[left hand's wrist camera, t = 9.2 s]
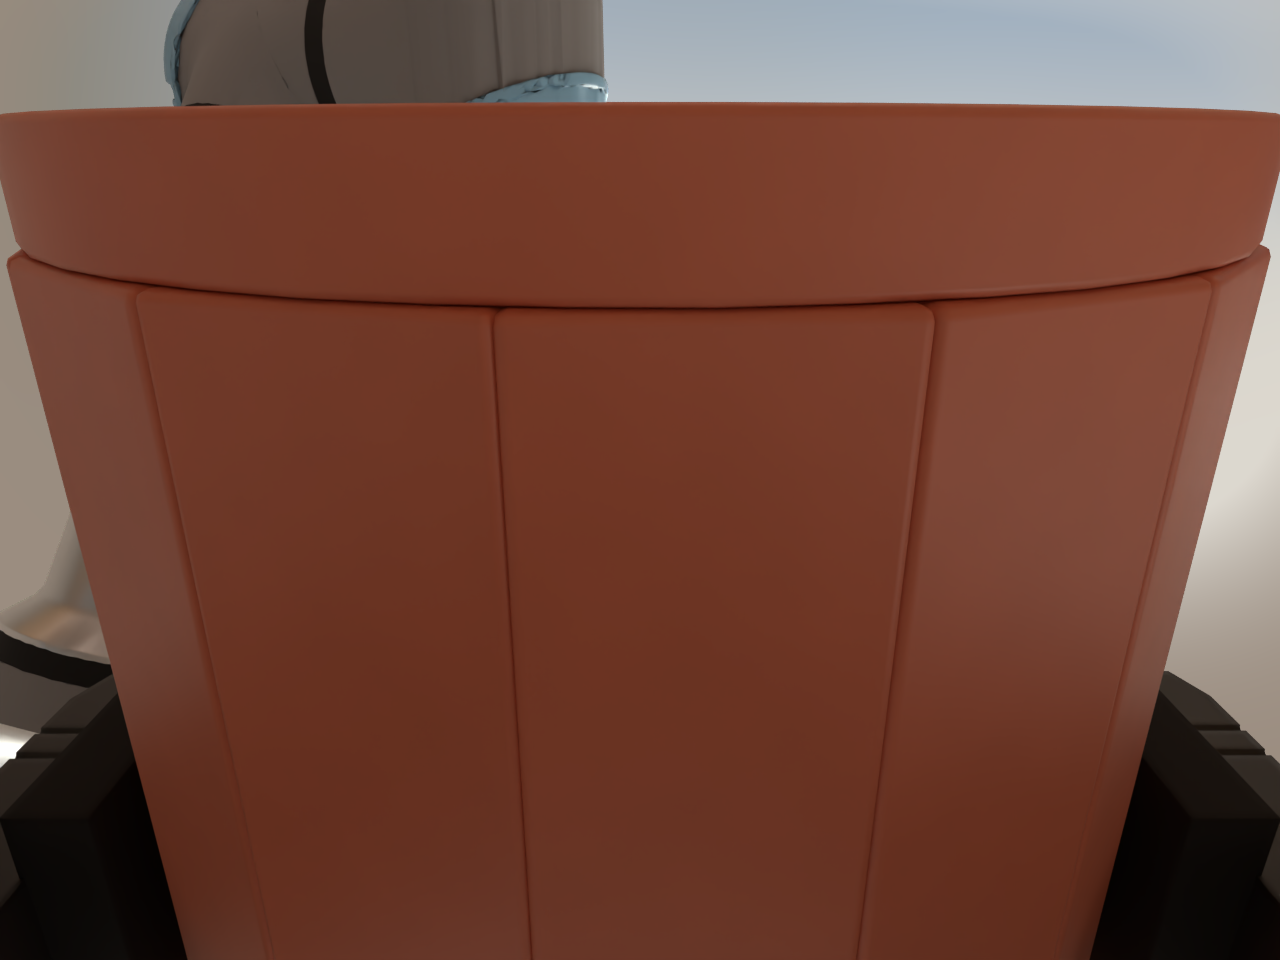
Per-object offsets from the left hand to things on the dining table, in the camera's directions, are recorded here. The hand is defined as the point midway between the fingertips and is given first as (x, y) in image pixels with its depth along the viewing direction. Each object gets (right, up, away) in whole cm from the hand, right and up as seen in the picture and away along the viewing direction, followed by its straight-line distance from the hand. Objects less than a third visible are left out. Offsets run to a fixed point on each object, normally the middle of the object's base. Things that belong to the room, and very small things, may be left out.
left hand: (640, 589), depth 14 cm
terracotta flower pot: (0, +5, -6) cm, 8 cm away
